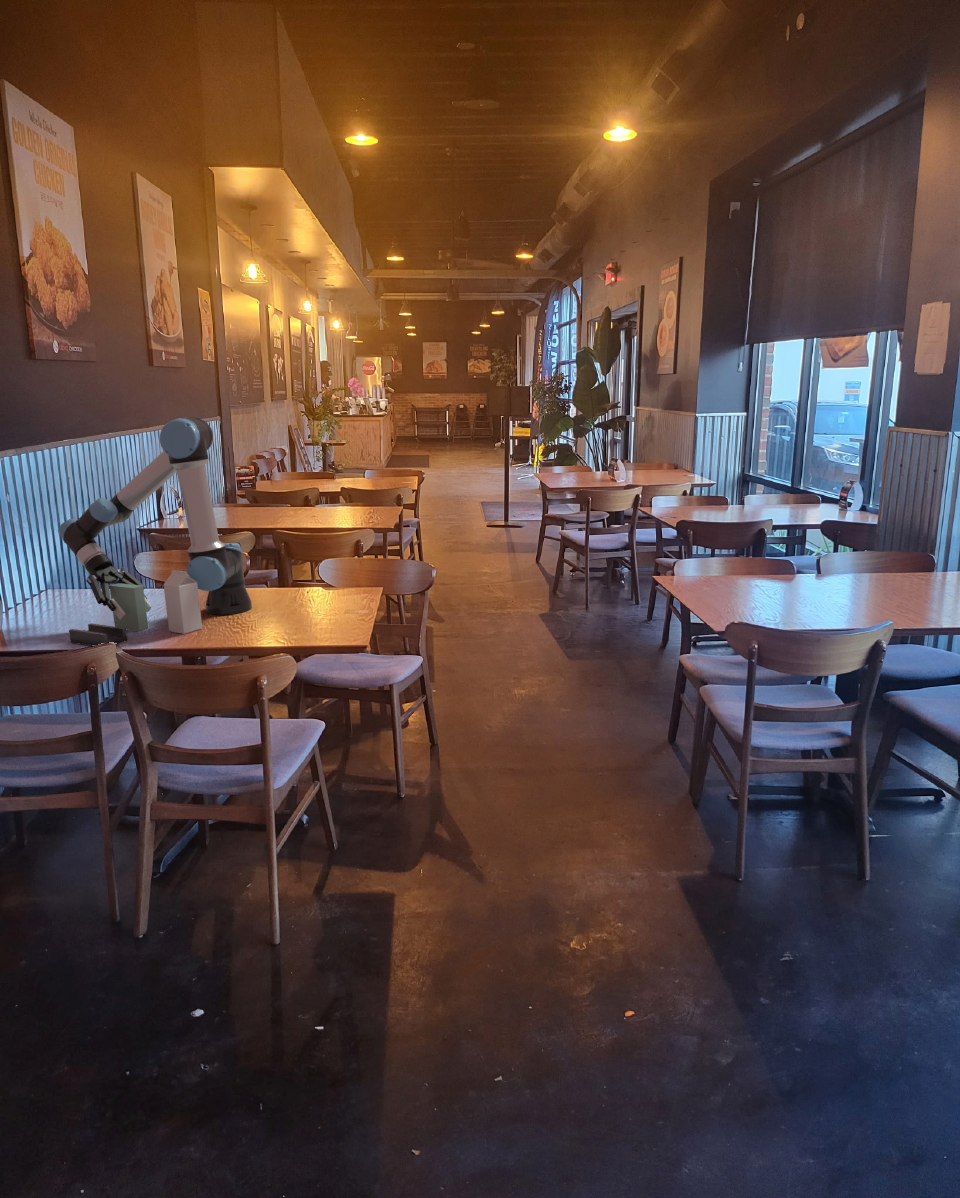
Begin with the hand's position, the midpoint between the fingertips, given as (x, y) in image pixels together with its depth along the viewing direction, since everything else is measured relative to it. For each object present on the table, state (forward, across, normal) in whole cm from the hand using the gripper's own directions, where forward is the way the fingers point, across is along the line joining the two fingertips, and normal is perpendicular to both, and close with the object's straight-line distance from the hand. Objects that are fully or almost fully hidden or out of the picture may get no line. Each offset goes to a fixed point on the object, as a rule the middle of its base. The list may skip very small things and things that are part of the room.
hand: (136, 613), depth 267 cm
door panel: (+2, 0, -6) cm, 6 cm away
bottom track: (+4, +15, -4) cm, 16 cm away
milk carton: (+15, -5, +7) cm, 17 cm away
